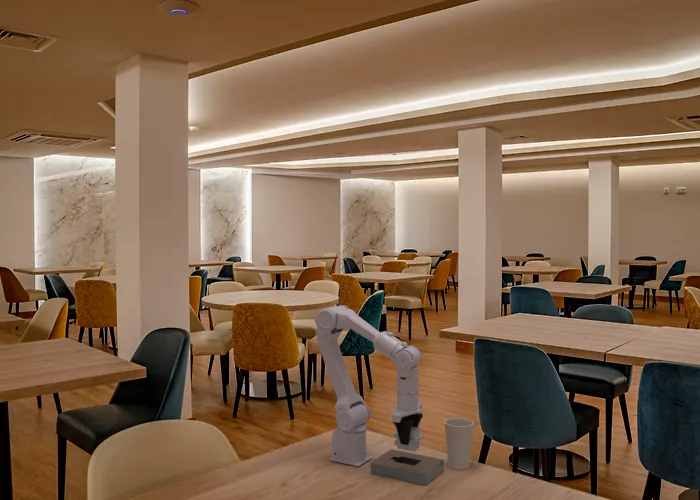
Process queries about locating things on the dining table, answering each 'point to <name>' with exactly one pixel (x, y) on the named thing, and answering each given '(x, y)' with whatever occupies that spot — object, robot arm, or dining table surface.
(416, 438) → the block
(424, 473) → the chassis
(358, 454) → the robot arm
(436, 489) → the dining table surface
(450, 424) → the cup
